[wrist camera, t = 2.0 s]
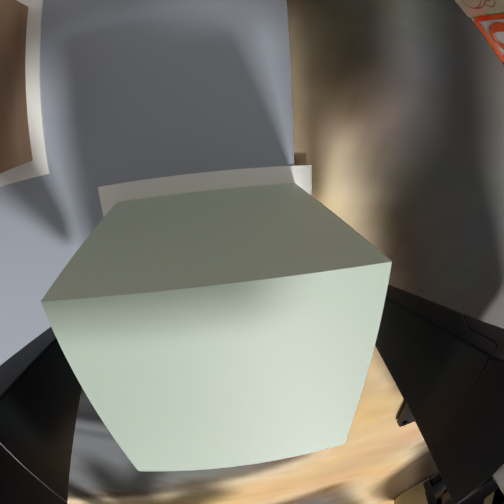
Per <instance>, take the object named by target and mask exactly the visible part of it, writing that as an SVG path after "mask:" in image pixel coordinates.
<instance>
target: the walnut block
mask: <svg viewBox="0 0 504 504" xmlns="http://www.w3.org/2000/svg"><path fill="white" fill-rule="evenodd" d="M27 17H28V6H26V5H24V4H22V3H20V2H18V1H16V0H0V173H3V172H5V171H7V170H10V169H12V168H15V167H17V166H20V165H22V164H25V163H28V162H30V161H33V158H32V151H31V144H30V136H29V126H28V115H27V101H26V75H25V56H26V30H27Z"/></svg>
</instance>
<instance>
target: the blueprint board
mask: <svg viewBox="0 0 504 504" xmlns="http://www.w3.org/2000/svg"><path fill="white" fill-rule="evenodd" d="M16 1H18V2H20V3H22V4H24V5H26V6H28V17H27V30H26V56H25V75H26V101H27V115H28V126H29V136H30V144H31V151H32V158H33V161H30V162H28V163H25V164H22V165H20V166H17V167H15V168H12V169H10V170H7V171H5V172H3V173H0V365H1V364H3V363H4V362H5V361H6V360H8V359H9V358H10V357H12V356H13V355H14V354H15V353H17V352H18V351H19V350H21V349H22V348H23V347H24V346H26V345H27V344H28V343H30V342H31V341H32V340H34V339H35V338H36V337H38V336H39V335H40V334H42V333H43V332H44V331H46V330H47V329H48V328H50V327H51V325H50V323H49V320H48V318H47V316H46V313H45V311H44V309H43V306H42V304H41V300H42V299H43V297H44V296H45V294H46V293H47V291H48V290H49V289H50V287H51V286H52V284H53V283H54V281H55V280H56V279H57V277H58V276H59V274H60V273H61V272H62V270H63V269H64V268H65V266H66V265H67V263H68V262H69V261H70V259H71V258H72V257H73V255H74V254H75V253H76V252H77V250H78V249H79V248H80V246H81V245H82V244H83V242H84V241H85V240H86V239H87V237H88V236H89V235H90V234H91V232H92V231H93V230H94V229H95V227H96V226H97V225H98V224H99V223H100V221H101V220H102V219H103V218H104V217H105V215H106V214H107V213H108V212H109V211H110V210H111V208H112V207H113V206H114V205H115V204H116V203H117V202H120V201H127V200H133V199H141V198H148V197H155V196H163V195H171V194H180V193H188V192H197V191H206V190H216V189H227V188H237V187H249V186H261V185H275V184H289V183H296V184H297V185H298V186H300V187H301V188H302V189H304V190H305V191H306V192H308V193H309V194H310V195H311V196H312V165H294V129H293V100H292V77H291V58H290V41H289V26H288V12H287V0H16Z"/></svg>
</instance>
